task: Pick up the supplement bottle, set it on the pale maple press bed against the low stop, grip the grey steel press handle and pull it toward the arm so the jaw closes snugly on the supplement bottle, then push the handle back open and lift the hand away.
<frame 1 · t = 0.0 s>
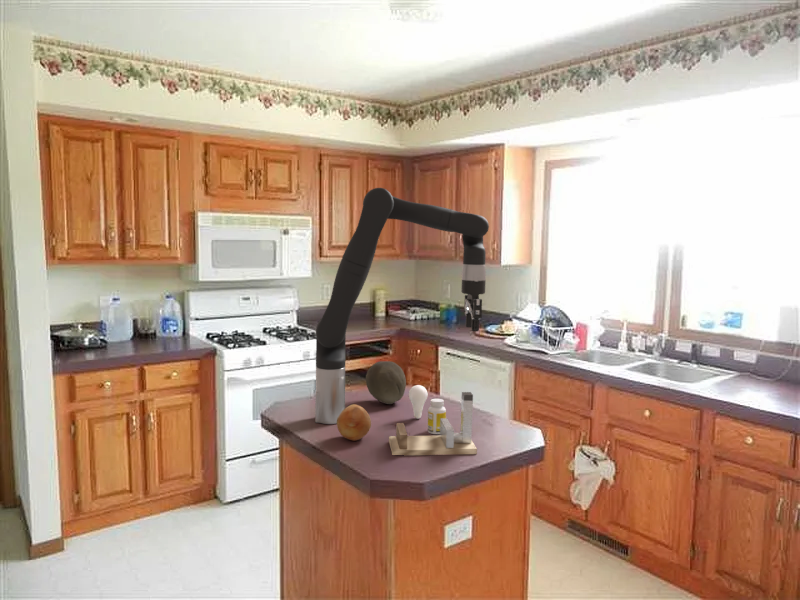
hand: (472, 329, 185), 29 cm above the worktop, tool pointing down, fingers open, 8 cm apart
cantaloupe: (385, 403, 204), on the worktop
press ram: (457, 417, 161), point 9 cm above the worktop, slide at 0.0 cm
lightbulb: (417, 419, 187), on the worktop
onion: (353, 439, 167), on the worktop
supplement bottle: (436, 432, 174), on the worktop
press bed: (431, 447, 161), on the worktop
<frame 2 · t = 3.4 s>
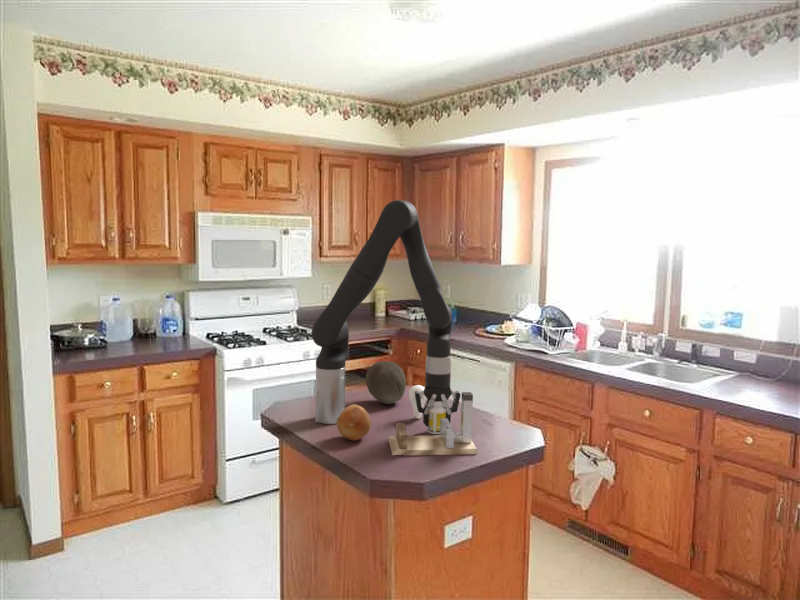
hand: (436, 425, 174), 2 cm above the worktop, tool pointing down, fingers closed on supplement bottle, 5 cm apart
supplement bottle: (436, 432, 174), on the worktop, touching gripper
everything else where it was.
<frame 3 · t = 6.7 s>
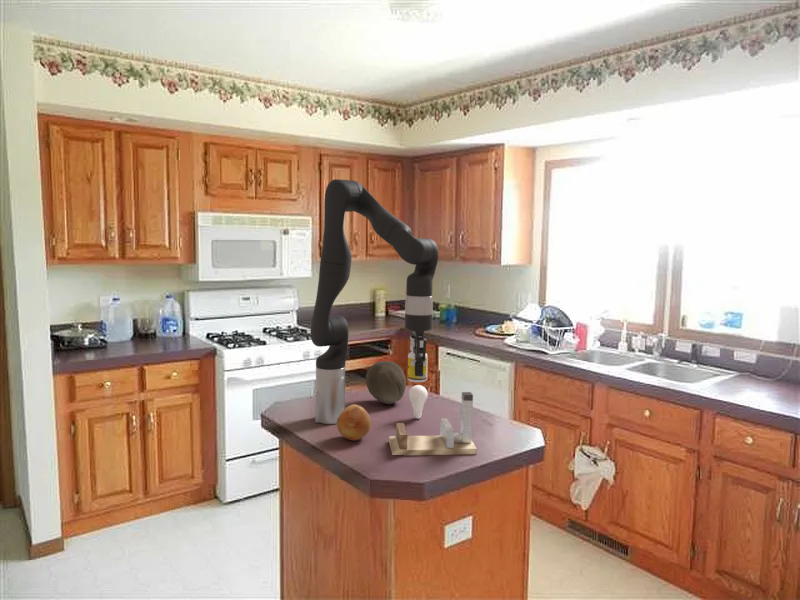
hand: (417, 373, 158), 21 cm above the worktop, tool pointing down, fingers closed on supplement bottle, 5 cm apart
supplement bottle: (417, 381, 159), point 19 cm above the worktop, touching gripper
everything else where it was.
when the fingers open (4 cm above the worktop, at t = 10.2 s): supplement bottle stays where it is, resting on press bed.
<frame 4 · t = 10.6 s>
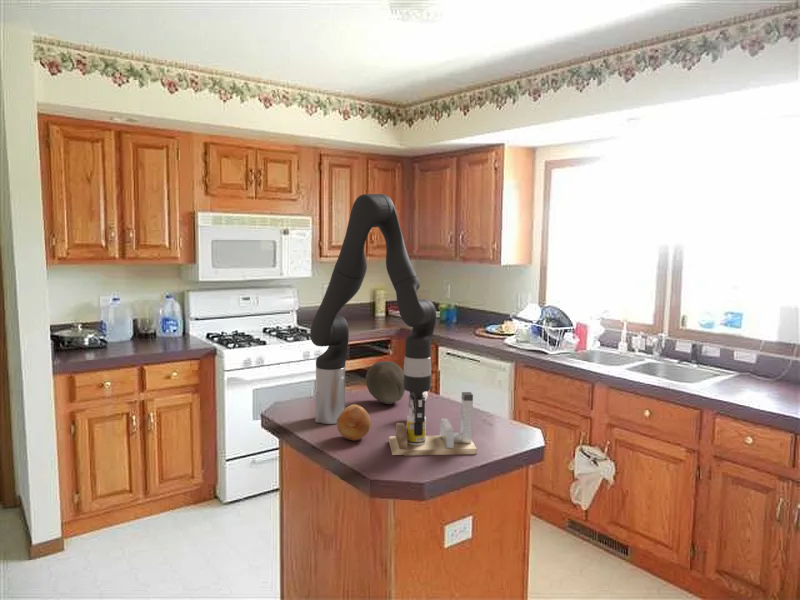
hand: (416, 430, 160), 5 cm above the worktop, tool pointing down, fingers open, 8 cm apart
supplement bottle: (415, 443, 160), point 1 cm above the worktop, touching press bed
everything else where it was.
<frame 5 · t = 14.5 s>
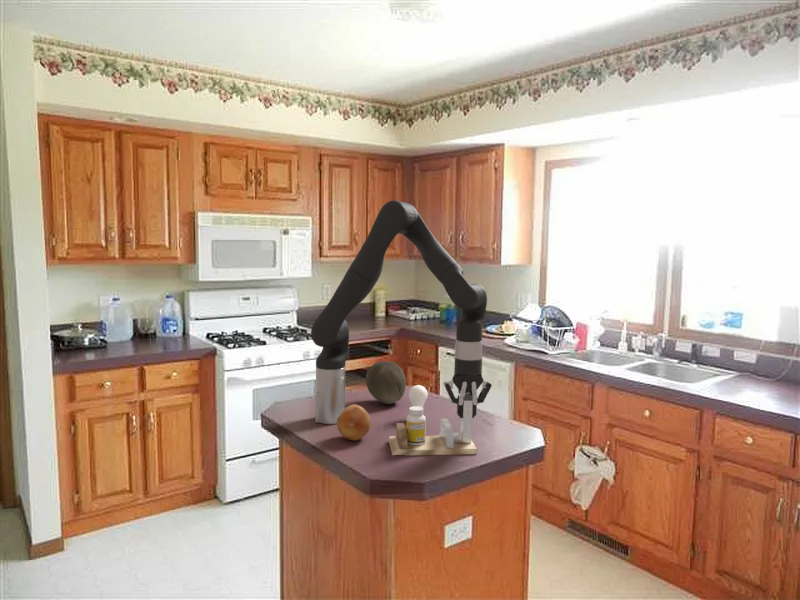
hand: (466, 417, 161), 9 cm above the worktop, tool pointing down, fingers closed on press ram, 2 cm apart
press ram: (457, 417, 161), point 9 cm above the worktop, slide at 0.0 cm, touching gripper
everything else where it was.
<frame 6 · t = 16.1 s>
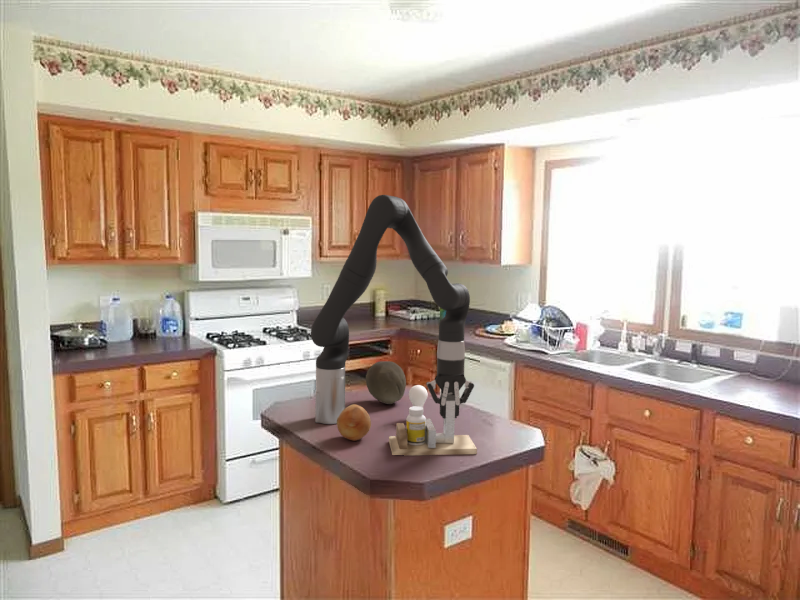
hand: (449, 417, 161), 9 cm above the worktop, tool pointing down, fingers closed on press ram, 2 cm apart
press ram: (439, 417, 160), point 8 cm above the worktop, slide at 4.9 cm, touching supplement bottle, gripper
supplement bottle: (415, 443, 160), point 1 cm above the worktop, touching press bed, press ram
everything else where it was.
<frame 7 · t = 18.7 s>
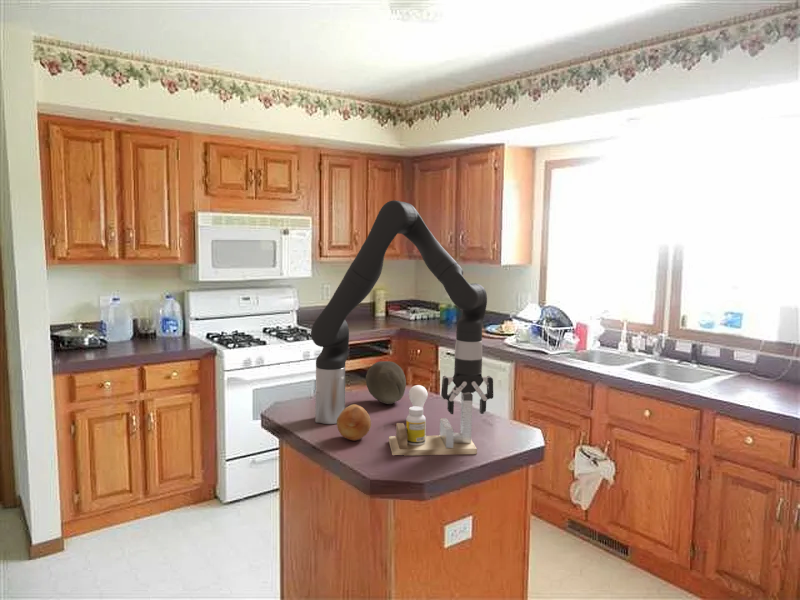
hand: (466, 413, 161), 10 cm above the worktop, tool pointing down, fingers open, 8 cm apart
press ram: (457, 417, 161), point 9 cm above the worktop, slide at 0.1 cm
supplement bottle: (415, 443, 160), point 1 cm above the worktop, touching press bed
everything else where it was.
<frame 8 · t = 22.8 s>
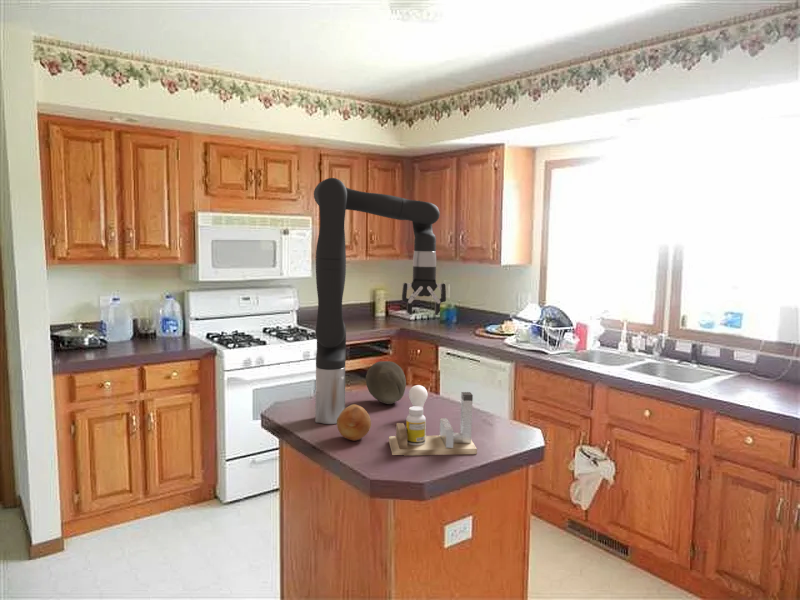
hand: (423, 314, 189), 33 cm above the worktop, tool pointing down, fingers open, 8 cm apart
nothing on the worktop moved.
at the end: supplement bottle 0.4 cm from the target spot, point 1.3 cm above the worktop; supplement bottle tilted 0°; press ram slide at 0.1 cm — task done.
